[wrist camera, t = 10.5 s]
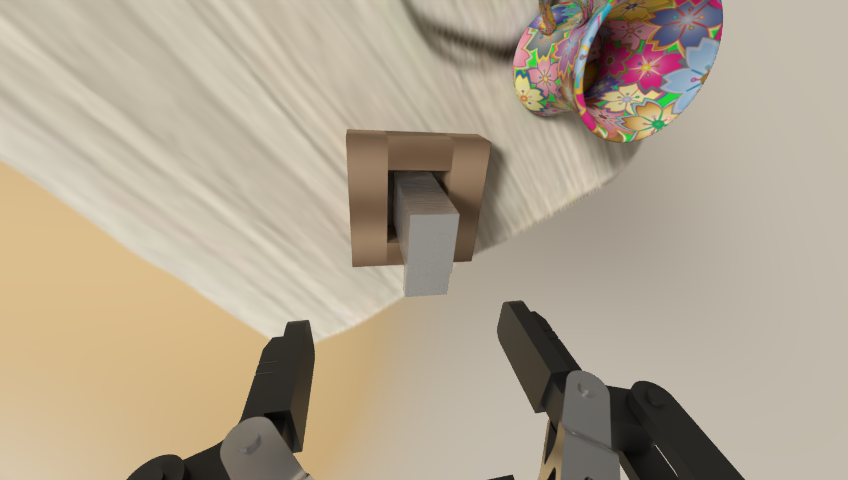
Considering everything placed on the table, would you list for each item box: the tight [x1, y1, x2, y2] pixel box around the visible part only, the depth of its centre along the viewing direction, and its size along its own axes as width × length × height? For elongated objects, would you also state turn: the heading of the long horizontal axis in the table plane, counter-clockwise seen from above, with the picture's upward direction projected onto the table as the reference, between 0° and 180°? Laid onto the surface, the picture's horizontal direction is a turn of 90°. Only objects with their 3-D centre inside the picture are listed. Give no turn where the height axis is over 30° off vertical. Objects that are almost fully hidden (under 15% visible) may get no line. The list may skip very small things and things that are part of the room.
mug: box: [513, 0, 723, 143], centre depth 22 cm, size 12×9×11 cm
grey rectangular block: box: [393, 171, 460, 297], centre depth 27 cm, size 7×4×10 cm, turn 176°
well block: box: [346, 130, 491, 267], centre depth 29 cm, size 12×12×4 cm
